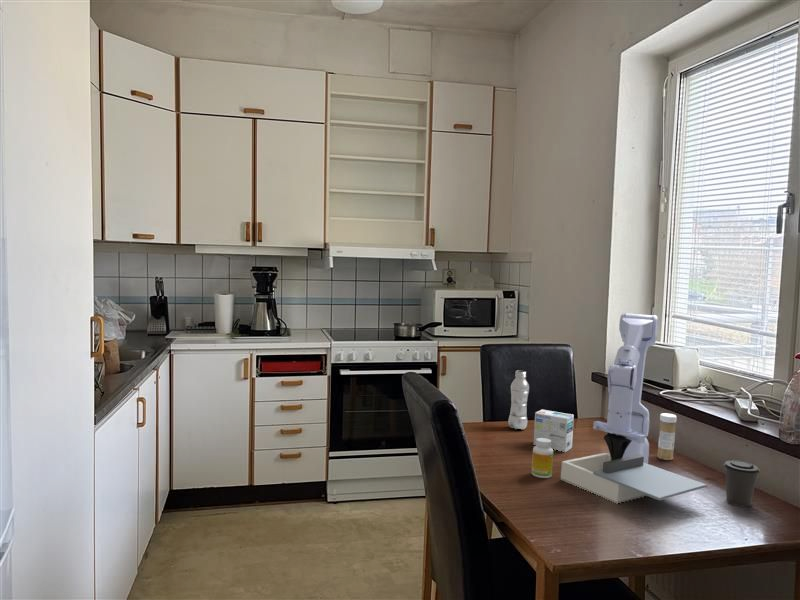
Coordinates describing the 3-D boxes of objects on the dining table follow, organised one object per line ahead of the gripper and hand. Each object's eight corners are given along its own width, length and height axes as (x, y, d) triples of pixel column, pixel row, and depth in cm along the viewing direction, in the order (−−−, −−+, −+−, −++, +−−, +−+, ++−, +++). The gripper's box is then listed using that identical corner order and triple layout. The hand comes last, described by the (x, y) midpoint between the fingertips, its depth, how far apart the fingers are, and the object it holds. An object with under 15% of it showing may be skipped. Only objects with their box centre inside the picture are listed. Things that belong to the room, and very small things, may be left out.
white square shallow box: (605, 469, 173) (606, 452, 173) (662, 491, 158) (664, 472, 158) (560, 479, 164) (561, 461, 163) (617, 504, 149) (618, 484, 148)
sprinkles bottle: (661, 454, 190) (665, 412, 189) (676, 459, 186) (679, 415, 185) (654, 457, 187) (657, 413, 186) (668, 461, 183) (672, 417, 182)
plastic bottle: (508, 430, 209) (511, 372, 208) (507, 425, 216) (511, 369, 214) (527, 432, 208) (530, 374, 207) (526, 427, 215) (530, 370, 213)
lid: (640, 463, 164) (640, 452, 164) (706, 487, 149) (707, 474, 149) (593, 474, 154) (593, 462, 154) (659, 500, 139) (660, 487, 139)
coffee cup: (760, 510, 149) (764, 470, 148) (722, 504, 151) (726, 465, 151) (753, 499, 156) (757, 460, 156) (718, 493, 159) (721, 455, 158)
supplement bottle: (552, 479, 164) (554, 443, 163) (531, 477, 165) (533, 441, 164) (551, 472, 169) (553, 438, 168) (531, 470, 170) (533, 436, 169)
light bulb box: (572, 448, 193) (574, 414, 192) (565, 453, 187) (568, 418, 187) (539, 441, 199) (541, 408, 198) (532, 446, 193) (534, 412, 192)
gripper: (586, 406, 163) (583, 456, 164) (634, 420, 151) (630, 474, 151) (604, 404, 166) (601, 453, 167) (651, 417, 154) (647, 470, 155)
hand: (616, 463), depth 160 cm, fingers closed
